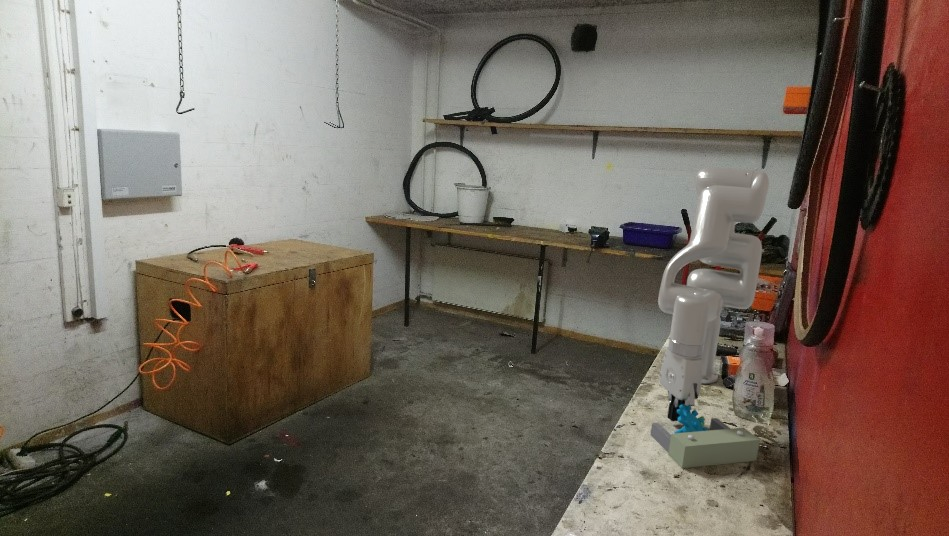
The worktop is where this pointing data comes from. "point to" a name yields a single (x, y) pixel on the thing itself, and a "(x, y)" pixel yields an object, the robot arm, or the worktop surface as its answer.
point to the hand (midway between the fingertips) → (674, 419)
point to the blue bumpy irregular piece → (690, 420)
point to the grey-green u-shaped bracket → (708, 445)
